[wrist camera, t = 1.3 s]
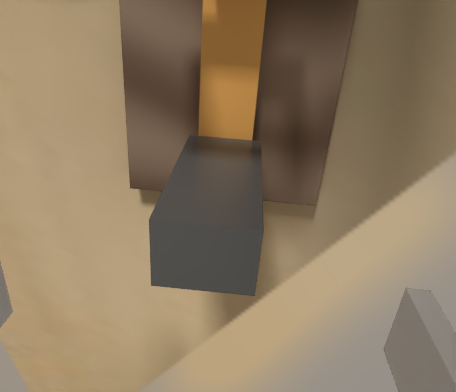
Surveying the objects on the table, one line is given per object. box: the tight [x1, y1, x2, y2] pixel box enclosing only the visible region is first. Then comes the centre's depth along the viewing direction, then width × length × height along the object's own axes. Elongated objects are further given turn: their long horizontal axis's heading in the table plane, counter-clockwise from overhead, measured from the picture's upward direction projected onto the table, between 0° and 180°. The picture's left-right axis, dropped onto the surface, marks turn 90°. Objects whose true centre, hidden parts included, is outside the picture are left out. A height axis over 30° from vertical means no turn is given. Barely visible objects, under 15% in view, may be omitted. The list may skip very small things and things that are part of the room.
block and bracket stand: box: [149, 0, 267, 296], centre depth 17 cm, size 13×6×10 cm, turn 176°
